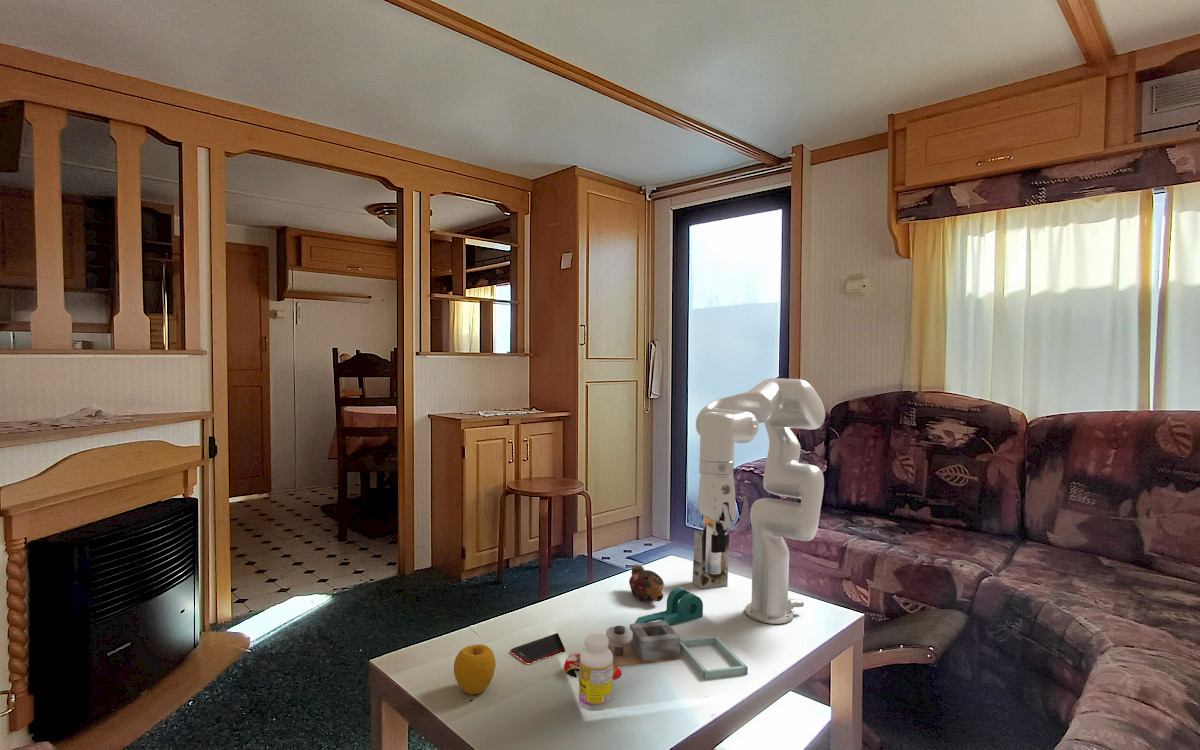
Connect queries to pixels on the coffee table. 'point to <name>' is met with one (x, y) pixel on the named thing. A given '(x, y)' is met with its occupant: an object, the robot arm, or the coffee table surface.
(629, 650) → the square socket fixture board
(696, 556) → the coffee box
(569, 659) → the race car
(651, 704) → the coffee table surface
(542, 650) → the cell phone
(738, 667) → the tray
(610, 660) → the supplement bottle
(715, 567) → the pin
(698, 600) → the bracket
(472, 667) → the apple
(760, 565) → the robot arm
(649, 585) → the green brown ocarina
